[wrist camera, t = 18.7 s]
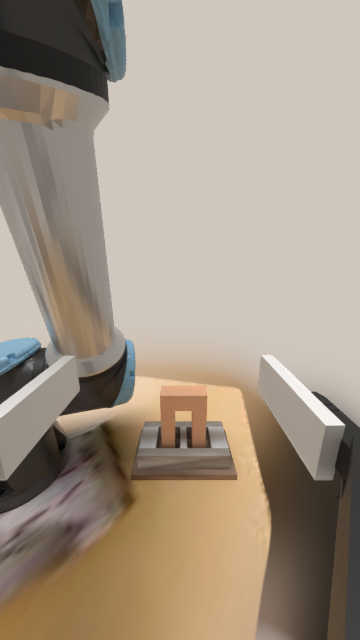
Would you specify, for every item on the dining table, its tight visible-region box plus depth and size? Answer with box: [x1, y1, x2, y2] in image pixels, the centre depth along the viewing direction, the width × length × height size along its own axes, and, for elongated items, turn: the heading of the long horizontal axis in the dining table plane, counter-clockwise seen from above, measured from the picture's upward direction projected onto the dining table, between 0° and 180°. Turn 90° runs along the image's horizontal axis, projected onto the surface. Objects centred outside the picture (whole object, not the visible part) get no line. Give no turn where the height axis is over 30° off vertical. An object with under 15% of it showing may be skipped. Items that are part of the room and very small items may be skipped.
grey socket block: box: [131, 421, 237, 480], centre depth 39 cm, size 10×18×4 cm, turn 90°
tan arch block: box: [160, 386, 207, 448], centre depth 38 cm, size 3×8×13 cm, turn 90°
